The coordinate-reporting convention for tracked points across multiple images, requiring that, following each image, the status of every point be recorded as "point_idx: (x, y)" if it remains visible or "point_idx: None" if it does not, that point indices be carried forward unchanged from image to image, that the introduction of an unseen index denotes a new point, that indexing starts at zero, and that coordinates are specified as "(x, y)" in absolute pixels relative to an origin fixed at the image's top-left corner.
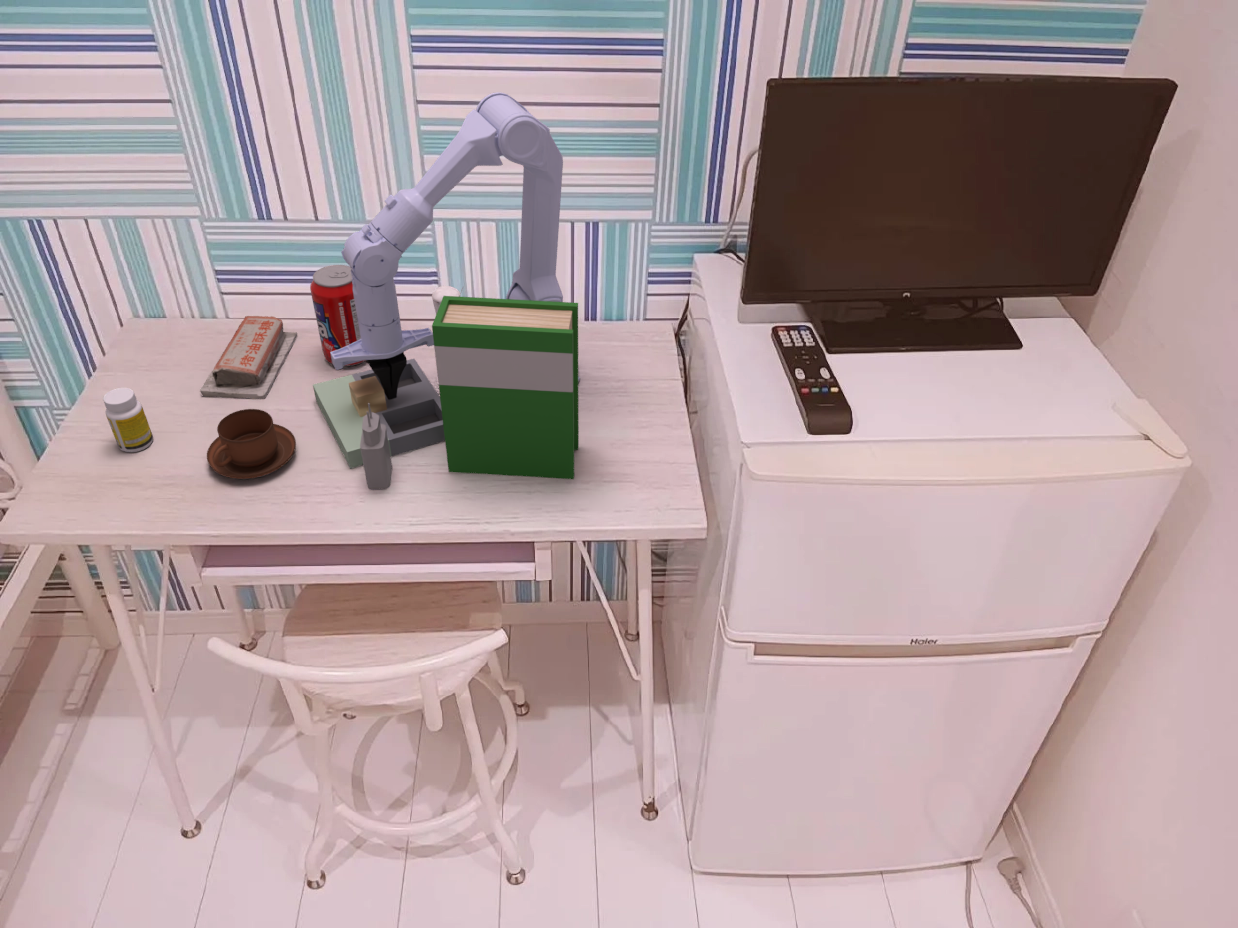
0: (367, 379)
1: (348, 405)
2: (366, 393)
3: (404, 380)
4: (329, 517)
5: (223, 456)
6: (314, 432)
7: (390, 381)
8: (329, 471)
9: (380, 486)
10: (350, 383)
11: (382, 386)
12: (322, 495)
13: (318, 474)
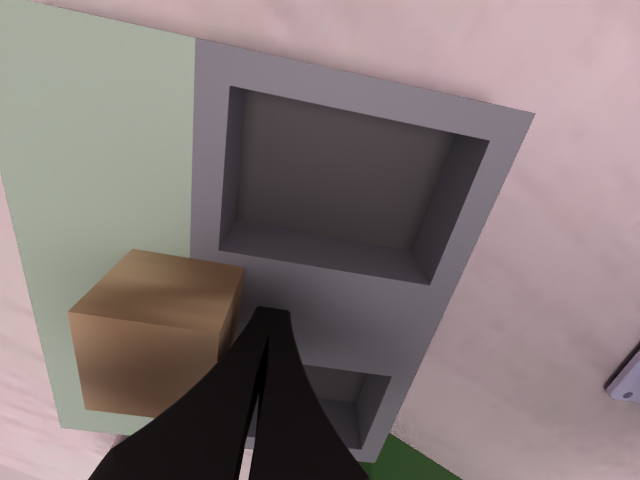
0: (171, 337)
1: (113, 257)
2: (134, 408)
3: (421, 127)
4: (26, 454)
5: None
6: None
7: (258, 413)
8: (43, 360)
9: None
10: (77, 319)
11: (248, 323)
12: (17, 408)
13: (14, 356)
